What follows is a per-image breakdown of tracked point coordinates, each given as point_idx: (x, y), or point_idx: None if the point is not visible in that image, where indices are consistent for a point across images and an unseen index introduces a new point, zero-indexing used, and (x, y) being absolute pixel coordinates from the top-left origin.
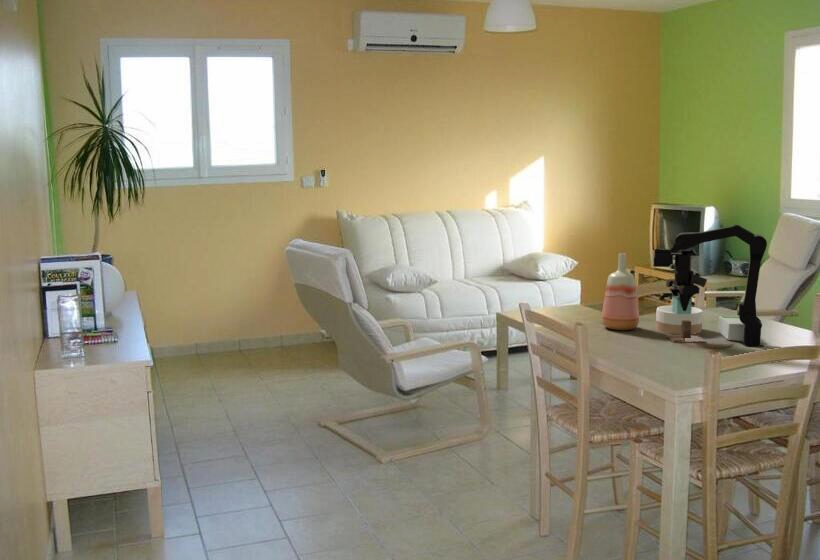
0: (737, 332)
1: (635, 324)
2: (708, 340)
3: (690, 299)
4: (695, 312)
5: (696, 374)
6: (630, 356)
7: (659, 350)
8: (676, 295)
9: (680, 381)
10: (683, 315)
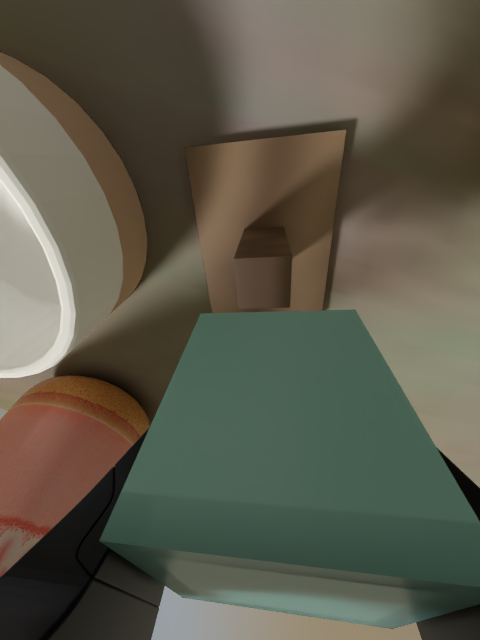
0: None
1: (119, 398)
2: (287, 90)
3: (462, 524)
4: None
5: None
6: (471, 458)
7: (435, 387)
8: (152, 583)
9: None
10: (76, 260)
